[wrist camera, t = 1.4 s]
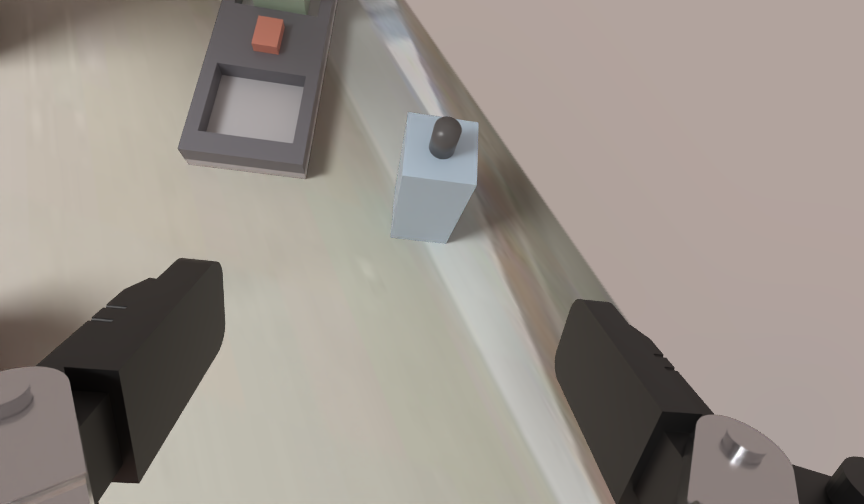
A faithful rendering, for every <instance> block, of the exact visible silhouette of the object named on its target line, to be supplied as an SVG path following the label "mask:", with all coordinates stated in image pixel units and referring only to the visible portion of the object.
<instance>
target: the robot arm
mask: <svg viewBox="0 0 864 504" xmlns="http://www.w3.org/2000/svg"><path fill="white" fill-rule="evenodd" d="M224 332H225V310H224V291H223V273H222V267H221V265H220V263H219V262H216V261H206V260H196V259H187V258H179V259H178V260H176V261H175V262H174V263H173V264H172V265H171V266H170V267H169V268H168V269H167V270H166V271H165V272H164V273H162V274H161V275H160V276H159V277H158V278H157V279H154V278H148V279H146V280H144V281H142V282H139V283H137V284H135V285H133V286H131V287H128V288H126V289H124V290H123V291H122V292H121V293H119V294H118V295H117V296H116V297H115V298H114V299H112V300H111V301H110V302H109V303H108V304H107V306H106V308H102V309H101V310H100V311H99V312H97V313H96V314H95V315H94V316H93V317H92V320H91V321H87V322H86V323H85V324H84V325H83V326H81V327H80V328H79V329H78V330H77V331H76V332H74V333H73V334H72V335H71V336H70V337H69V338H68V339H66V340H65V341H64V342H63V343H62V344H61V345H59V346H58V347H57V348H56V349H55V350H54V351H53V352H51V353H50V354H49V355H48V356H47V357H46V358H45V359H43V360H42V361H41V362H40V363H39V364H38V365H36V366H33V367H21V368H14V369H9V370H4V371H0V504H99V500H100V498H101V497H102V495H103V494H104V492H105V491H106V489H107V488H108V486H109V485H110V483H111V482H120V483H140V481H141V479H142V478H143V476H144V474H145V473H146V471H147V469H148V468H149V466H150V464H151V463H152V461H153V459H154V458H155V456H156V455H157V453H158V451H159V450H160V448H161V446H162V445H163V443H164V441H165V440H166V438H167V436H168V435H169V433H170V431H171V430H172V428H173V426H174V425H175V423H176V421H177V420H178V418H179V416H180V415H181V413H182V411H183V410H184V408H185V406H186V405H187V403H188V402H189V400H190V398H191V397H192V395H193V393H194V392H195V390H196V388H197V387H198V385H199V383H200V382H201V380H202V378H203V377H204V375H205V373H206V372H207V370H208V368H209V367H210V365H211V363H212V362H213V360H214V358H215V357H216V355H217V353H218V352H219V350H220V347H221V345H222V341H223V337H224ZM555 372H556V377H557V380H558V382H559V384H560V386H561V388H562V390H563V393H564V395H565V397H566V399H567V401H568V403H569V405H570V407H571V410H572V412H573V414H574V416H575V418H576V420H577V422H578V424H579V427H580V429H581V431H582V433H583V435H584V437H585V439H586V441H587V444H588V446H589V448H590V450H591V452H592V454H593V456H594V459H595V461H596V463H597V465H598V467H599V469H600V471H601V473H602V476H603V478H604V480H605V482H606V484H607V486H608V488H609V490H610V493H611V495H612V497H613V499H614V501H615V503H616V504H864V458H863V457H849V458H846V459H845V460H844V461H843V463H842V464H841V465H840V466H839V468H838V469H837V471H836V472H835V473H834V474H833V476H832V477H831V476H828V475H825V474H821V473H818V472H815V471H812V470H808V469H805V468H802V467H798V466H795V465H792V464H791V462H790V460H789V459H788V457H787V456H786V455H785V453H784V452H783V451H782V450H781V449H780V448H779V447H778V446H777V445H776V444H775V443H774V442H773V441H771V440H770V439H769V438H768V437H766V436H765V435H764V434H762V433H761V432H759V431H758V430H756V429H754V428H752V427H751V426H749V425H747V424H745V423H743V422H740V421H738V420H736V419H733V418H730V417H726V416H722V415H714V413H713V412H712V411H711V410H710V409H709V408H708V406H707V405H706V404H705V403H704V402H703V400H702V399H701V398H700V397H699V396H698V395H697V393H696V392H695V391H694V390H693V389H692V388H691V386H690V385H689V384H688V383H687V382H686V381H685V379H684V378H683V377H682V376H681V375H680V374H679V372H678V371H675V370H674V366H673V365H672V364H671V363H670V362H669V361H668V359H667V358H663V354H662V352H661V351H660V350H659V349H658V348H657V347H656V345H655V344H654V343H653V342H652V341H651V340H650V339H649V338H648V337H647V336H645V335H644V334H642V333H641V332H639V331H638V330H637V329H635V328H634V327H633V326H631V325H629V324H628V323H627V321H626V320H625V319H624V318H623V317H622V315H621V314H620V313H619V312H618V310H617V309H616V308H615V307H614V306H613V305H612V304H611V303H610V302H602V301H592V300H583V299H577V300H576V301H575V302H574V303H573V304H572V306H571V309H570V312H569V315H568V318H567V321H566V324H565V327H564V330H563V333H562V336H561V339H560V342H559V345H558V348H557V351H556V356H555Z"/></svg>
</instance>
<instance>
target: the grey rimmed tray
mask: <svg viewBox="0 0 864 504" xmlns="http://www.w3.org/2000/svg"><path fill="white" fill-rule="evenodd" d="M336 6H337V0H310V5H309V10H308V14H307V15H303V14H297V13H292V12H286V11H280V10H274V9H268V8H262V7H257V6H254V4H253V0H222V2H221V6H220V9H219V12H218V16H217V19H216V22H215V26H214V29H213V32H212V36H211V39H210V42H209V46H208V49H207V52H206V56H205V59H204V62H203V66H202V69H201V72H200V76H199V79H198V82H197V86H196V89H195V92H194V96H193V99H192V102H191V106H190V109H189V112H188V116H187V119H186V122H185V126H184V129H183V132H182V136H181V139H180V142H179V146H178V150H179V151H180V153H181V154H182V156H183V157H184V159H185V160H186V162H187V163H188V164H191V165H199V166H207V167H215V168H223V169H231V170H239V171H247V172H255V173H263V174H271V175H279V176H287V177H295V178H303V179H306V175H307V169H308V163H309V158H310V152H311V147H312V141H313V135H314V130H315V124H316V118H317V113H318V107H319V101H320V96H321V90H322V85H323V79H324V73H325V68H326V62H327V56H328V51H329V45H330V40H331V34H332V28H333V23H334V17H335V11H336Z"/></svg>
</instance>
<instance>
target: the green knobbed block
mask: <svg viewBox="0 0 864 504" xmlns="http://www.w3.org/2000/svg"><path fill="white" fill-rule="evenodd" d="M253 4H254V6H257V7H262V8H268V9H274V10H280V11H286V12H292V13H297V14H303V15H307V14H308V10H309V5H310V0H253Z"/></svg>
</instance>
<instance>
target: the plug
mask: <svg viewBox="0 0 864 504" xmlns="http://www.w3.org/2000/svg"><path fill="white" fill-rule="evenodd" d="M477 160H478V122H472V121H465V120H459V119H454V118H452V117H439V116H432V115H425V114H418V113H412V112H408V115H407V121H406V127H405V133H404V139H403V145H402V150H401V156H400V162H399V168H398V174H397V180H396V186H395V195H394V205H393V216H392V226H391V236H390V237H391V238H400V239H409V240H418V241H426V242H435V243H444V244H446V242H447V240H448V239H449V237H450V235H451V233H452V231H453V229H454V227H455V225H456V223H457V222H458V220H459V218H460V216H461V214H462V212H463V210H464V208H465V207H466V205H467V203H468V201H469V199H470V197H471V195H472V193H473V192H474V190H475V188H476V186H477Z"/></svg>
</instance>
